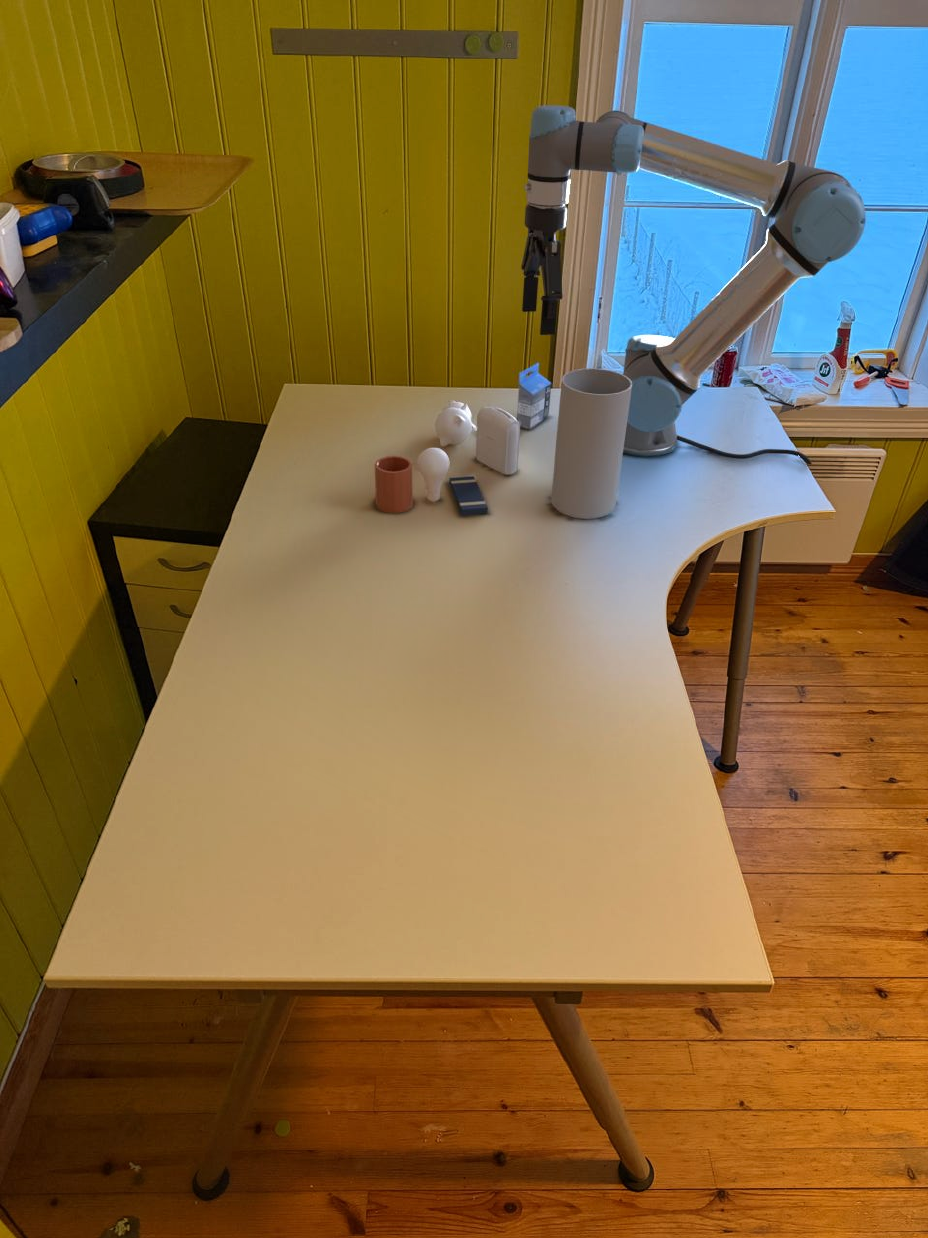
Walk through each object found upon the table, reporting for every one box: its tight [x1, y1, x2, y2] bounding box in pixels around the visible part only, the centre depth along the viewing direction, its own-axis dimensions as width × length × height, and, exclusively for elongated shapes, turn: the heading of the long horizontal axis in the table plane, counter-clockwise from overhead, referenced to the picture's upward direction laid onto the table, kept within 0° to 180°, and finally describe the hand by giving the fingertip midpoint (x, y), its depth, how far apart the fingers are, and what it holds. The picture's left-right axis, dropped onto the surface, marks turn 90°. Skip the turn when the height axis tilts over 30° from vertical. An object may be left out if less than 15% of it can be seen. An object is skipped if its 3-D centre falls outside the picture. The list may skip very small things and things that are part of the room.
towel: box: [448, 475, 489, 517], centre depth 178 cm, size 5×13×1 cm, turn 11°
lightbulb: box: [416, 447, 451, 503], centre depth 174 cm, size 6×6×11 cm
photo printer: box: [475, 405, 521, 476], centre depth 186 cm, size 10×4×12 cm, turn 39°
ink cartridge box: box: [516, 362, 552, 430], centre depth 205 cm, size 9×4×12 cm, turn 147°
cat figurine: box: [434, 399, 477, 447], centre depth 198 cm, size 9×11×12 cm
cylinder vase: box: [550, 367, 632, 520], centre depth 170 cm, size 12×12×25 cm
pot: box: [373, 455, 414, 514], centre depth 173 cm, size 7×7×8 cm
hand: (537, 322), depth 176 cm, fingers open, 13 cm apart
